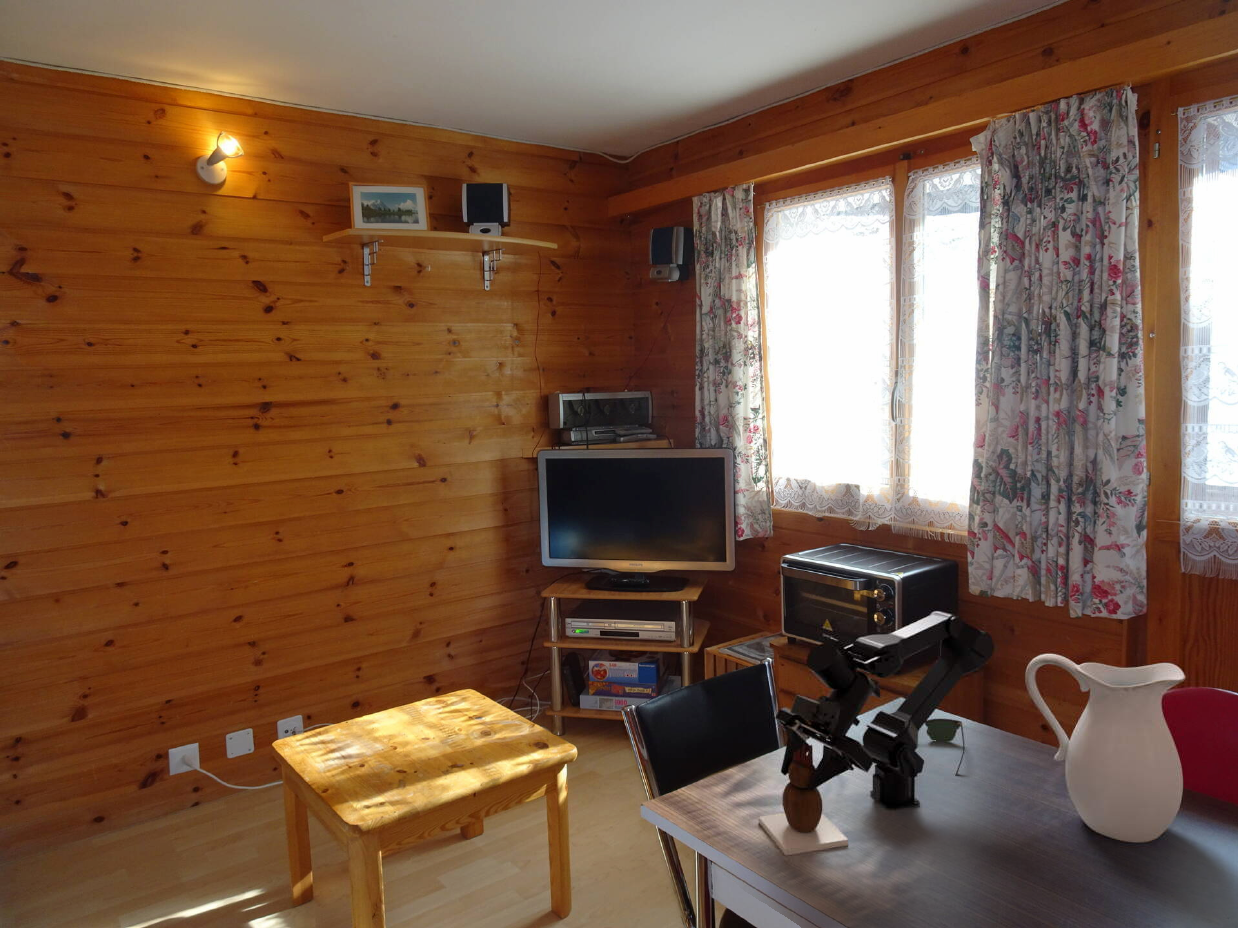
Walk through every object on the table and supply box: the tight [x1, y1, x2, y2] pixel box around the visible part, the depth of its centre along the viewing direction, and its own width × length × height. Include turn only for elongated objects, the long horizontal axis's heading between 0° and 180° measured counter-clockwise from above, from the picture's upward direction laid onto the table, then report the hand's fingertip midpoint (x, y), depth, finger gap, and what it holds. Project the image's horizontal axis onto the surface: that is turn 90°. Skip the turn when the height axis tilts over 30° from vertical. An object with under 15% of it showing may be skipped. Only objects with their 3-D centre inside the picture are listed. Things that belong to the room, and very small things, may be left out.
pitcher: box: [1024, 653, 1186, 843], centre depth 147 cm, size 24×17×28 cm
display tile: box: [758, 812, 849, 856], centre depth 146 cm, size 11×11×1 cm
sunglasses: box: [924, 718, 965, 776], centre depth 175 cm, size 16×17×5 cm
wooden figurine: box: [782, 744, 823, 832], centre depth 146 cm, size 7×6×15 cm
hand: (795, 781), depth 145 cm, fingers open, 6 cm apart
